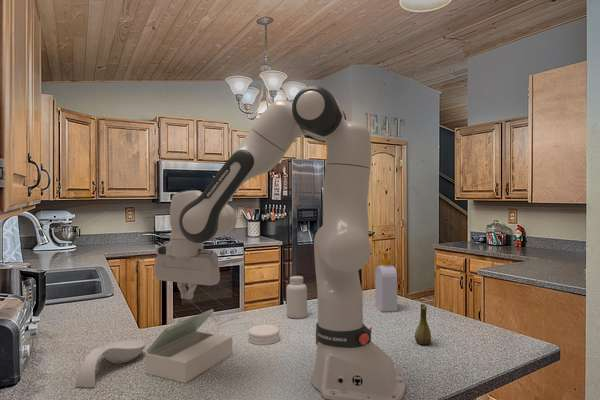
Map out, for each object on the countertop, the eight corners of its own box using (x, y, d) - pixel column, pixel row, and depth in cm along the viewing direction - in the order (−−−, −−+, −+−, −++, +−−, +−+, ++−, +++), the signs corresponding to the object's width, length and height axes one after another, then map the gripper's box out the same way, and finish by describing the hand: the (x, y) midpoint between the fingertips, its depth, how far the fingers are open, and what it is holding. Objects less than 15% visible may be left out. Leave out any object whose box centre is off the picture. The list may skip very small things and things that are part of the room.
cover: (213, 310, 116) (212, 308, 116) (167, 330, 99) (165, 328, 99) (196, 330, 119) (194, 328, 119) (148, 353, 102) (146, 350, 102)
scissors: (240, 315, 151) (225, 332, 131) (240, 317, 151) (225, 334, 131) (213, 314, 152) (194, 331, 132) (213, 316, 152) (194, 333, 132)
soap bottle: (373, 306, 164) (373, 251, 164) (389, 305, 164) (389, 251, 164) (380, 312, 155) (380, 254, 155) (397, 311, 155) (397, 254, 155)
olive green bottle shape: (426, 347, 118) (426, 308, 118) (411, 343, 121) (410, 305, 121) (434, 342, 122) (434, 304, 122) (419, 338, 125) (419, 301, 125)
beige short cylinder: (242, 342, 123) (242, 331, 123) (258, 332, 132) (258, 322, 132) (269, 347, 119) (269, 336, 119) (284, 337, 128) (284, 326, 128)
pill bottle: (294, 311, 156) (294, 274, 156) (311, 315, 152) (311, 276, 152) (282, 316, 150) (282, 277, 150) (299, 320, 145) (299, 280, 145)
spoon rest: (114, 350, 118) (114, 326, 118) (152, 351, 117) (152, 327, 117) (62, 388, 94) (61, 359, 94) (109, 389, 93) (109, 359, 93)
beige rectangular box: (232, 353, 114) (232, 336, 114) (185, 383, 96) (185, 362, 96) (196, 346, 120) (196, 330, 120) (146, 373, 101) (146, 354, 101)
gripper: (224, 249, 107) (224, 299, 107) (167, 245, 115) (167, 292, 115) (210, 252, 101) (210, 305, 101) (150, 248, 110) (151, 297, 110)
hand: (187, 298), depth 108 cm, fingers closed
